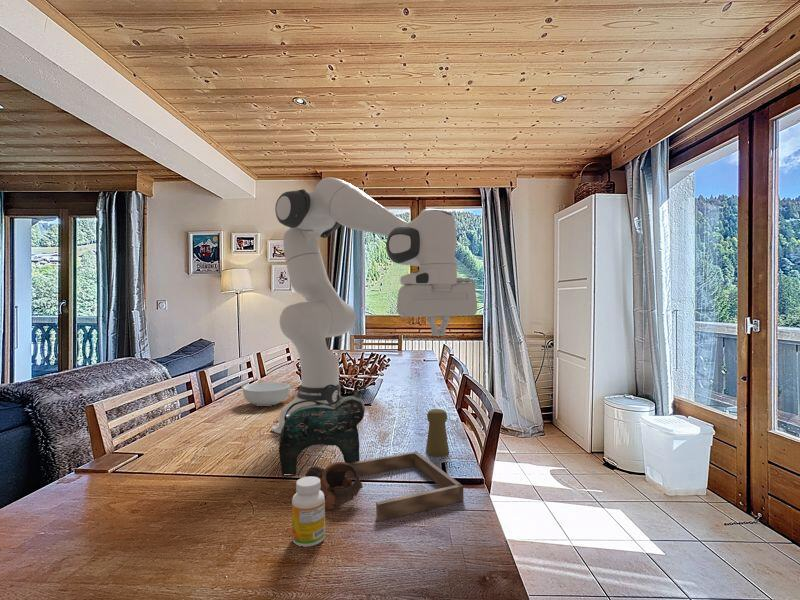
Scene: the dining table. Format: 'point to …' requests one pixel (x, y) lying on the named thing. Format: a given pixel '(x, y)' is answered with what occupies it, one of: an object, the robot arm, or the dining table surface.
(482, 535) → the dining table surface
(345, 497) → the pottery mug
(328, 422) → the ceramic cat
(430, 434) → the cork
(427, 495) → the wooden open frame
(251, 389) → the cereal bowl
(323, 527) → the supplement bottle
